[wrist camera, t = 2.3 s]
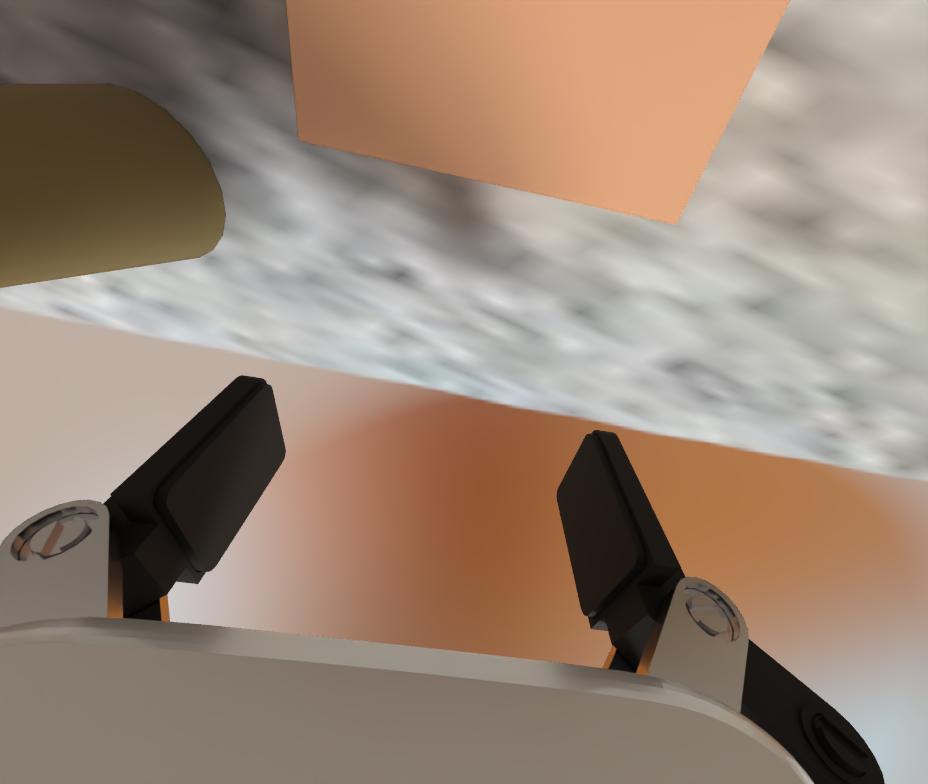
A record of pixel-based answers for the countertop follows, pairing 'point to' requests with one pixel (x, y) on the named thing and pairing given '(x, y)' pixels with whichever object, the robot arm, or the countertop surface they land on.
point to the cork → (98, 184)
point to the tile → (532, 89)
